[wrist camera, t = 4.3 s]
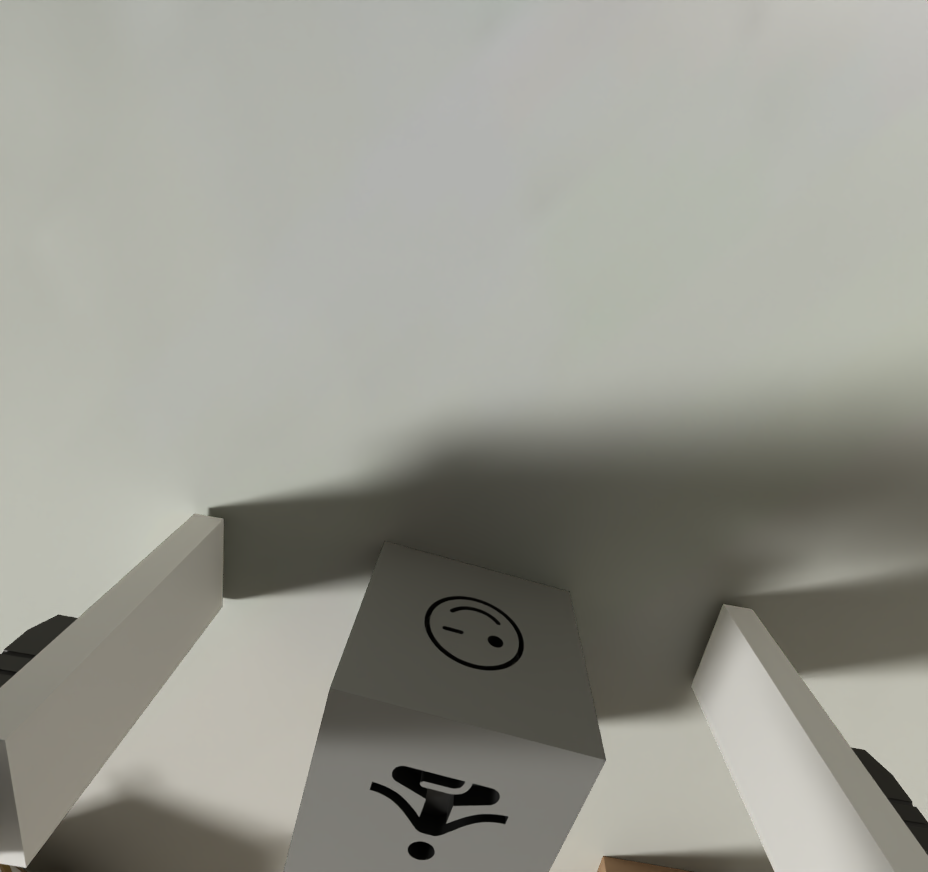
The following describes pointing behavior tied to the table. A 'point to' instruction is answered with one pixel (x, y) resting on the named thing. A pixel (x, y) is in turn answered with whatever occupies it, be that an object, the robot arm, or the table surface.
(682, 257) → the table surface
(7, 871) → the game die
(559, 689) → the dice cube
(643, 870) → the tower base
